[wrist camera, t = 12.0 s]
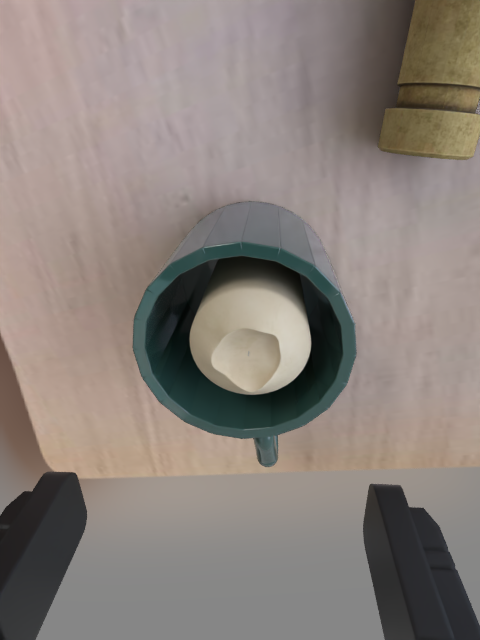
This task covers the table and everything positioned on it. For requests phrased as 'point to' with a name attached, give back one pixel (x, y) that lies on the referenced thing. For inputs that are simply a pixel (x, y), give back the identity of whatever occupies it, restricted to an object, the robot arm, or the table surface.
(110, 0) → the table surface
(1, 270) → the table surface
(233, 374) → the candle
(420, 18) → the gavel
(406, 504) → the robot arm
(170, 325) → the teal faceted cup
